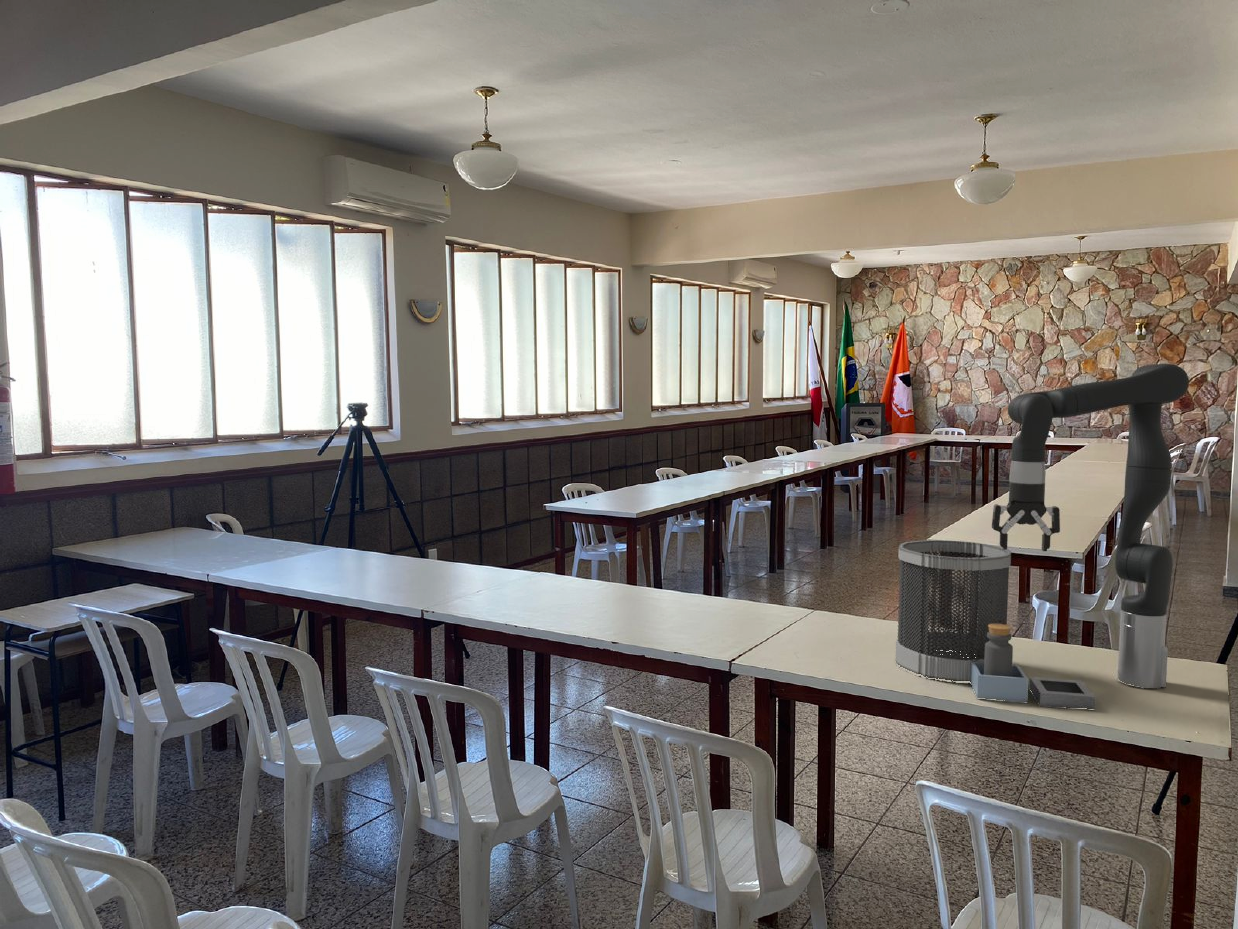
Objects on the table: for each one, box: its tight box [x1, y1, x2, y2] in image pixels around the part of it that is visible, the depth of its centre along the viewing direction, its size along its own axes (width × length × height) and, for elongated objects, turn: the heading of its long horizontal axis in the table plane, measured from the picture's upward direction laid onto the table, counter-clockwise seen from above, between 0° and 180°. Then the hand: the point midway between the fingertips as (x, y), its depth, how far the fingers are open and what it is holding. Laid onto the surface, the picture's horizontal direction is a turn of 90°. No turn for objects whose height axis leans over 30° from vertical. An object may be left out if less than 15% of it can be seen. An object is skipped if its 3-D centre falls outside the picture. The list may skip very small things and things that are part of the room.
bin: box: [970, 662, 1029, 703], centre depth 201 cm, size 10×10×6 cm
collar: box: [1028, 676, 1097, 710], centre depth 197 cm, size 11×11×3 cm
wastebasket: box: [895, 539, 1012, 681], centre depth 220 cm, size 25×25×30 cm
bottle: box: [984, 623, 1014, 677], centre depth 200 cm, size 6×6×15 cm
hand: (1024, 550), depth 205 cm, fingers open, 8 cm apart
